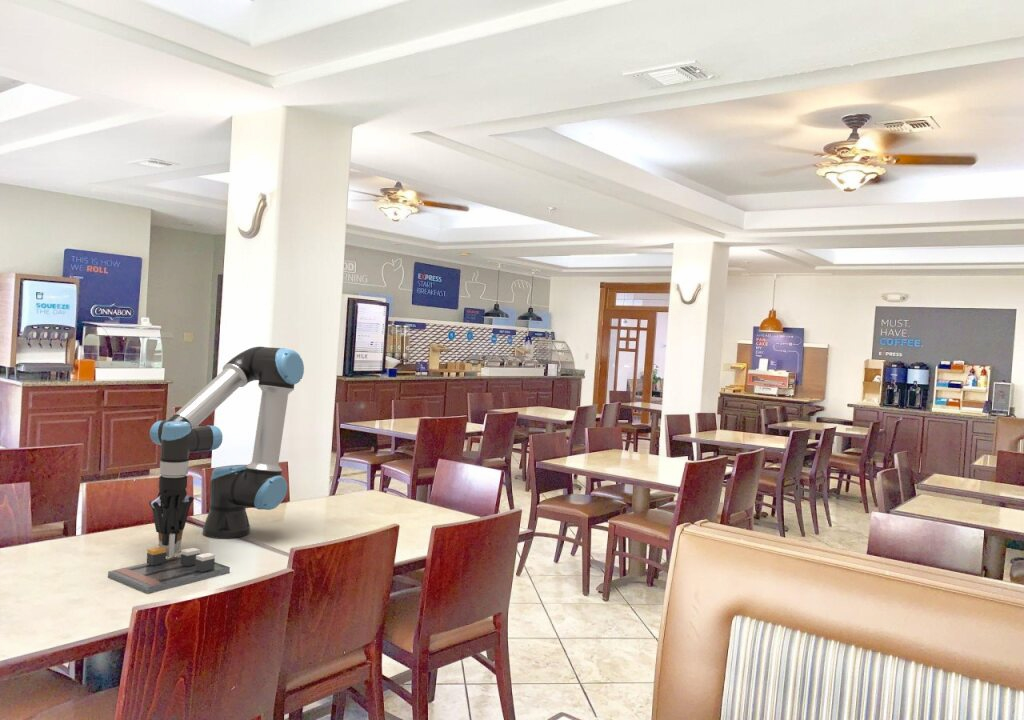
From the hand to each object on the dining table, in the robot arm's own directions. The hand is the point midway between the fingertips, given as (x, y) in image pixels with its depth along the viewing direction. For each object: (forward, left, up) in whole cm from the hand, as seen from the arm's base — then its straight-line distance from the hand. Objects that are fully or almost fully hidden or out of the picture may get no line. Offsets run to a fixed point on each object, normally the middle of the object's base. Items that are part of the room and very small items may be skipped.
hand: (168, 555), depth 222 cm
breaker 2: (-2, +14, -1) cm, 14 cm away
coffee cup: (-9, -14, -3) cm, 17 cm away
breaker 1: (-2, +7, -1) cm, 7 cm away
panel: (+4, +7, -3) cm, 9 cm away
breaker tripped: (+4, 0, -1) cm, 4 cm away
